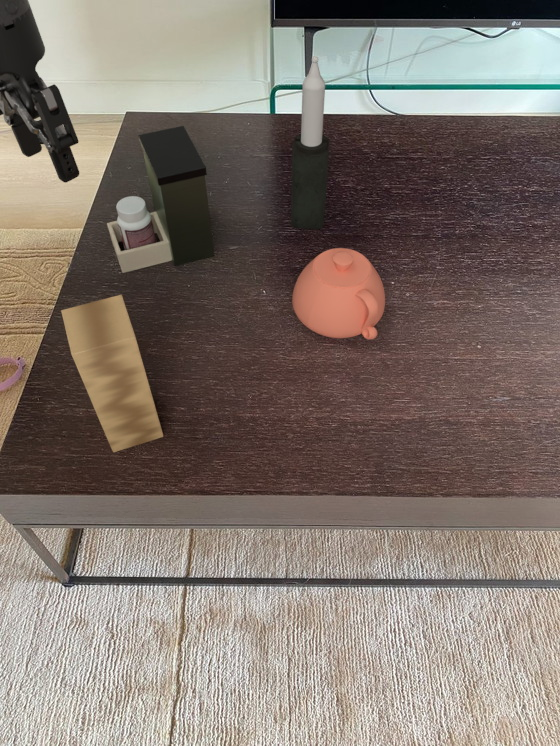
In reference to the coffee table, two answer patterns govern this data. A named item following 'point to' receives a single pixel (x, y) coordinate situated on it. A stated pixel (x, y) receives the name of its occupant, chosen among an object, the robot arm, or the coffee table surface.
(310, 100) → the candle
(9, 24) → the robot arm
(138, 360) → the stand
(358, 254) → the sugar bowl
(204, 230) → the dispenser
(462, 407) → the coffee table surface
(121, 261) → the dock
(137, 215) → the pill bottle
